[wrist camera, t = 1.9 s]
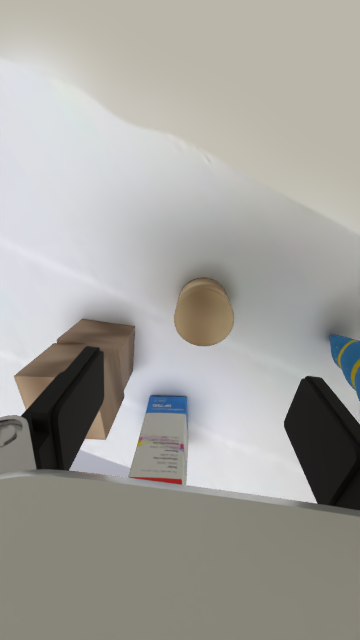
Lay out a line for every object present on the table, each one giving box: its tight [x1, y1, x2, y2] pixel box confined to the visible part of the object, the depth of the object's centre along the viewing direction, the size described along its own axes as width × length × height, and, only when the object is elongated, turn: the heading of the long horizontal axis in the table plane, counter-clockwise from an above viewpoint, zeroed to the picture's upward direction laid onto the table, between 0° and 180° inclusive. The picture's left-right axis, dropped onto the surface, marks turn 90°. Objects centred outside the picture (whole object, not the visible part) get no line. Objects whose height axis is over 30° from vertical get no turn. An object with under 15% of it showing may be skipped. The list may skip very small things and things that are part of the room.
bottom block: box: [57, 319, 135, 391], centre depth 24 cm, size 6×6×5 cm
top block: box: [14, 343, 124, 440], centre depth 20 cm, size 6×6×5 cm
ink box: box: [128, 396, 188, 485], centre depth 24 cm, size 8×5×15 cm, turn 2°
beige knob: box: [174, 278, 234, 346], centre depth 21 cm, size 5×5×5 cm
